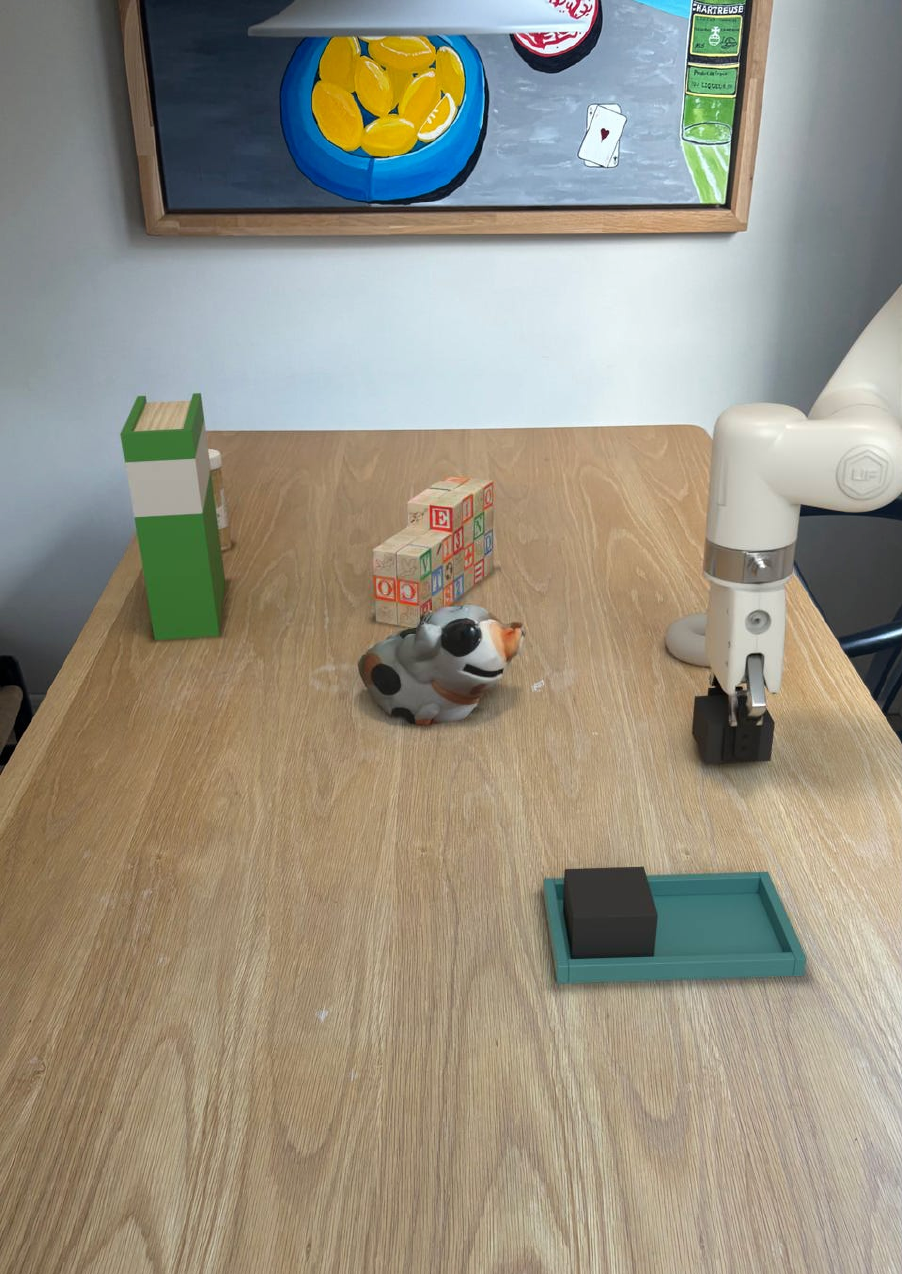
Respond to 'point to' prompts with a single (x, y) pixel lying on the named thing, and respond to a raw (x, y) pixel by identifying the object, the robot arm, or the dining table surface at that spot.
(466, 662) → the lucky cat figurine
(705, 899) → the tray
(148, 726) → the dining table surface
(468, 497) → the stack of blocks
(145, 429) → the hardback book
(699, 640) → the donut
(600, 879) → the seated pad
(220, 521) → the sprinkles bottle
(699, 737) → the black square block
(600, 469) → the dining table surface
